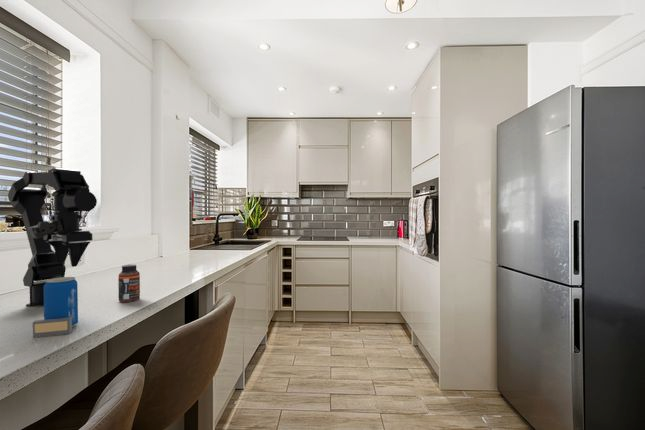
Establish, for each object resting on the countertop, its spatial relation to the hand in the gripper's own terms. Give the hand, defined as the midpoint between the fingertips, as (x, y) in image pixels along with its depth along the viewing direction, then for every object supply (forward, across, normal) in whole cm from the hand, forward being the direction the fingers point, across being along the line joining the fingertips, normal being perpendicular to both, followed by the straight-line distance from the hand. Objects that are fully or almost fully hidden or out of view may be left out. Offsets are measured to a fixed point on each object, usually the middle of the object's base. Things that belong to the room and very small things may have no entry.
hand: (67, 265), depth 96 cm
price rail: (+13, +21, -10) cm, 27 cm away
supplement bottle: (+13, +5, +15) cm, 20 cm away
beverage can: (+13, +17, -7) cm, 23 cm away
